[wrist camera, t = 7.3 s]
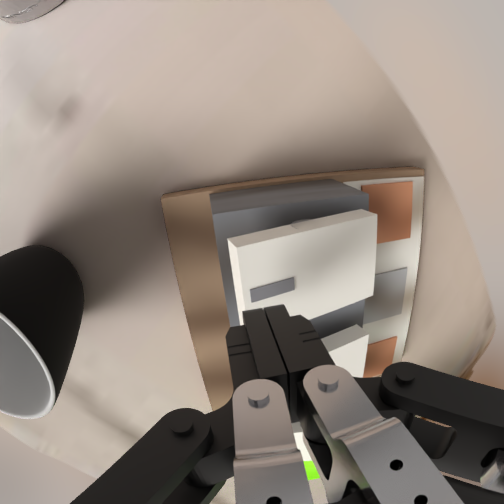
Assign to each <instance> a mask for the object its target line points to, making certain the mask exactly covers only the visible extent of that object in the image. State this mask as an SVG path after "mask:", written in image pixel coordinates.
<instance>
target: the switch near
mask: <svg viewBox="0 0 504 504" xmlns="http://www.w3.org/2000/svg"><path fill="white" fill-rule="evenodd" d="M227 240H228V247H229V254H230V261H231V267H232V274H233V281H234V288H235V294H236V301H237V307H238V314H239V320H240V325H244V323H243V316H242V311H246V310H252V309H258V308H264V307H269V306H275V305H280V304H284V305H285V307H286V309H287V311H288V313H289V315H290V316H296V315H302V316H303V317H305V318H306V319H308V320H310V319H313V318H315V317H318V316H321V315H324V314H326V313H329V312H332V311H334V310H337V309H340V308H342V307H345V306H347V305H350V304H353V303H355V302H358V301H360V300H363V299H365V298H368V297H370V296H373V291H374V279H375V264H376V245H377V214H375V213H372V212H369V211H366V210H363V209H359V210H354V211H349V212H345V213H340V214H335V215H331V216H326V217H322V218H317V219H303V220H297V221H294V222H292V223H291V224H290V225H285V226H281V227H276V228H272V229H267V230H263V231H259V232H254V233H250V234H245V235H241V236H237V237H232V238H228V239H227Z"/></svg>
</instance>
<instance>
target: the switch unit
mask: <svg viewBox="0 0 504 504" xmlns="http://www.w3.org/2000/svg"><path fill="white" fill-rule="evenodd" d="M161 203H162V209H163V214H164V219H165V224H166V230H167V235H168V240H169V244H170V249H171V254H172V259H173V263H174V268H175V272H176V277H177V281H178V285H179V290H180V294H181V298H182V302H183V306H184V310H185V314H186V318H187V322H188V326H189V330H190V334H191V338H192V341H193V345H194V349H195V352H196V356H197V360H198V363H199V367H200V370H201V374H202V377H203V381H204V384H205V387H206V391H207V394H208V397H209V400H210V404H211V407H212V410H213V411H215V410H217V409H219V408H221V407H222V406H224V405H225V404H226V403H227V402H228V401H229V400H230V398H231V397H232V394H233V382H232V376H231V370H230V364H229V357H228V351H227V344H226V338H225V336H226V334H227V332H228V330H229V328H230V327H234V326H240V320H239V314H238V307H237V301H236V294H235V288H234V281H233V274H232V267H231V261H230V254H229V247H228V240H227V239H228V238H232V237H237V236H241V235H245V234H250V233H254V232H259V231H263V230H267V229H272V228H276V227H281V226H285V225H290V224H291V223H292V222H294V221H297V220H303V219H317V218H322V217H326V216H331V215H335V214H340V213H345V212H349V211H354V210H359V209H363V210H366V211H369V212H372V213H375V214H377V245H376V264H375V279H374V291H373V296H370V297H368V298H365V299H363V300H360V301H358V302H355V303H353V304H350V305H347V306H345V307H342V308H340V309H337V310H334V311H332V312H329V313H326V314H324V315H321V316H318V317H315V318H313V319H310V320H309V321H311V323H312V325H313V327H314V328H315V330H316V332H317V333H318V335H319V337H320V339H322V338H325V337H327V336H329V335H332V334H334V333H337V332H339V331H342V330H344V329H346V328H349V327H351V326H354V325H356V324H357V325H358V326H360V327H361V328H362V329H363V330H365V331H366V332H367V333H368V334H369V338H368V346H367V353H366V360H365V367H364V373H363V378H366V377H380V376H382V373H383V371H384V369H385V368H386V367H388V366H389V365H391V364H393V363H397V362H401V361H402V356H403V352H404V348H405V343H406V338H407V333H408V328H409V323H410V318H411V312H412V307H413V301H414V294H415V288H416V281H417V273H418V265H419V256H420V246H421V235H422V222H423V205H424V169H420V168H417V167H395V168H377V169H362V170H349V171H337V172H325V173H315V174H305V175H295V176H286V177H277V178H269V179H261V180H253V181H245V182H238V183H231V184H224V185H217V186H210V187H204V188H198V189H191V190H185V191H179V192H173V193H168V194H163V196H162V198H161Z"/></svg>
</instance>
